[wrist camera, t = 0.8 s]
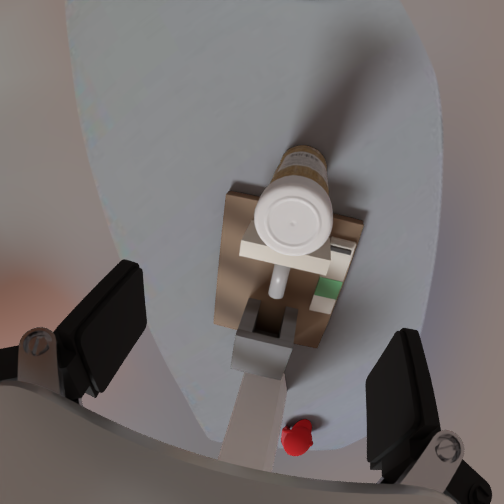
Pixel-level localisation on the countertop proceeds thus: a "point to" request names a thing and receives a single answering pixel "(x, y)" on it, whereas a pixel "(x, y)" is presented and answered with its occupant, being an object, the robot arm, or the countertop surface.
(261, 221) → the sprinkles bottle
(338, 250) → the spring plunger
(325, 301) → the gauge frame
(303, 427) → the cap
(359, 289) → the countertop surface
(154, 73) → the countertop surface
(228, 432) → the milk
